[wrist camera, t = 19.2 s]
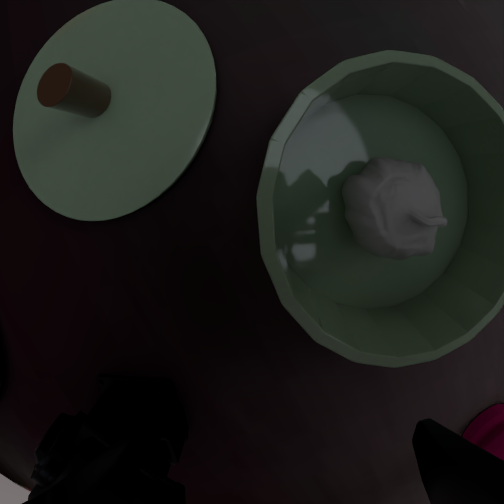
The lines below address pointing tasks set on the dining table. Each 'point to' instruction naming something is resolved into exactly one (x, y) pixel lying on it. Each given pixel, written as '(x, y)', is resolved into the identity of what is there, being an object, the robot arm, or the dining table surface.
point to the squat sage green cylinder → (341, 236)
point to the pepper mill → (488, 430)
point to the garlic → (393, 208)
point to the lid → (114, 109)
